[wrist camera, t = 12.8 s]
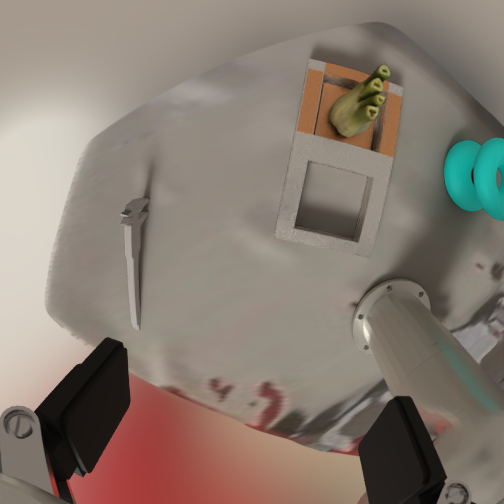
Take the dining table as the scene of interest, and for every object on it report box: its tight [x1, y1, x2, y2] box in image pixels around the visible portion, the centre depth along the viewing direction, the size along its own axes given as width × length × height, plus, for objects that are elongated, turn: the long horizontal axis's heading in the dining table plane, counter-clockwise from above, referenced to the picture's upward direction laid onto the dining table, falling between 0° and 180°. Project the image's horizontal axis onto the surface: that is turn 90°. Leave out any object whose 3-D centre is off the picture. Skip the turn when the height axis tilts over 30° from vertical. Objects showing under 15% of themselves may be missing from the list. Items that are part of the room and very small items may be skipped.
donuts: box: [444, 138, 504, 220], centre depth 26 cm, size 10×10×10 cm
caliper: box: [120, 198, 149, 330], centre depth 36 cm, size 20×1×6 cm, turn 169°
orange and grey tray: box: [274, 59, 403, 258], centre depth 31 cm, size 12×22×3 cm, turn 170°
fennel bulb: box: [330, 64, 391, 137], centre depth 25 cm, size 6×5×12 cm
